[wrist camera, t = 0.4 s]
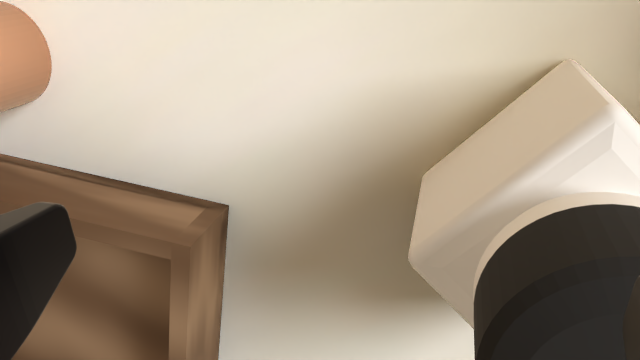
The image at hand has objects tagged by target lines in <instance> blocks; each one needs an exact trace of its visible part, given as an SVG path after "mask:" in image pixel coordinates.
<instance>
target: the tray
mask: <svg viewBox="0 0 640 360" xmlns="http://www.w3.org/2000/svg"><path fill="white" fill-rule="evenodd" d="M36 202H50V203H58V204H61V205H63V206H64V207H65V208H66V209H67V211H68V214H69V218H70V221H71V225H72V229H73V232H74V236H75V240H76V244H77V249H76V254H75V257H74V259H73V261H72V263H71V264H70V266H69V268H68V270H67V271H66V273H65V275H64V276H63V278H62V280H61V282H60V283H59V285H58V287H57V289H56V290H55V292H54V294H53V296H52V297H51V299H50V301H49V302H48V304H47V306H46V308H45V309H44V311H43V313H42V315H41V316H40V318H39V320H38V321H37V323H36V325H35V326H34V328H33V329H32V331H31V333H30V334H29V335H28V337H27V338H26V340H25V341H24V343H23V344H22V346H21V347H20V348H19V350H18V351H17V353H16V354H15V355H14V357H13V358H12V360H218V353H219V339H220V324H221V310H222V296H223V282H224V268H225V253H226V239H227V225H228V211H229V205H225V204H221V203H216V202H212V201H207V200H203V199H198V198H194V197H189V196H185V195H181V194H176V193H172V192H167V191H163V190H158V189H154V188H150V187H145V186H141V185H136V184H132V183H127V182H123V181H119V180H114V179H110V178H105V177H101V176H96V175H92V174H88V173H83V172H79V171H74V170H70V169H65V168H61V167H57V166H52V165H48V164H43V163H39V162H34V161H30V160H26V159H21V158H17V157H12V156H8V155H3V154H0V214H3V213H6V212H9V211H12V210H15V209H18V208H21V207H24V206H27V205H30V204H33V203H36Z"/></svg>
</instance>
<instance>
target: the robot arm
mask: <svg viewBox="0 0 640 360" xmlns="http://www.w3.org/2000/svg"><path fill="white" fill-rule="evenodd" d="M76 249H77V244H76V240H75V236H74V232H73V229H72V225H71V221H70V218H69V214H68V211H67V209H66V208H65V207H64V206H63V205H61V204H58V203H50V202H36V203H33V204H30V205H27V206H24V207H21V208H18V209H15V210H12V211H9V212H6V213H3V214H0V360H12V358H13V357H14V355H15V354H16V353H17V351H18V350H19V348H20V347H21V346H22V344H23V343H24V341H25V340H26V338H27V337H28V335H29V334H30V333H31V331H32V329H33V328H34V326H35V325H36V323H37V321H38V320H39V318H40V316H41V315H42V313H43V311H44V309H45V308H46V306H47V304H48V302H49V301H50V299H51V297H52V296H53V294H54V292H55V290H56V289H57V287H58V285H59V283H60V282H61V280H62V278H63V276H64V275H65V273H66V271H67V270H68V268H69V266H70V264H71V263H72V261H73V259H74V257H75V254H76ZM623 340H624V347H625V354H626V360H640V275H639V276H638V278H637V279H636V281H635V284H634V287H633V290H632V293H631V296H630V300H629V303H628V306H627V309H626V312H625V315H624V319H623Z"/></svg>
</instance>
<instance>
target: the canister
mask: <svg viewBox="0 0 640 360" xmlns="http://www.w3.org/2000/svg"><path fill="white" fill-rule="evenodd" d="M50 76H51V56H50V52H49V48H48V45H47V42H46V40H45V38H44V36H43V34H42V32H41V31H40V29H39V28H38V26H37V25H36V23H35V22H34V21H33V20H32V19H31V18H30V17H29V16H28V15H27V14H26V13H25V12H23V11H22V10H20V9H19V8H17V7H15V6H14V5H11V4H9V3H6V2H2V1H0V112H3V111H6V110H9V109H12V108H15V107H18V106H20V105H23V104H26V103H29V102H32V101H34V100H35V99H37V98H38V97H39V96H41V94H42V93H43V92H44V91H45V89H46V88H47V86H48V83H49V80H50Z"/></svg>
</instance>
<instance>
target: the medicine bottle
mask: <svg viewBox="0 0 640 360" xmlns="http://www.w3.org/2000/svg"><path fill="white" fill-rule="evenodd" d="M408 260H409V262H410V264H411V266H412V267H413V268H414V269H415V270H416V271H417V272H418V273H419V274H420V275H421V276H422V277H423V278H424V279H425V280H426V281H427V282H428V283H429V284H430V285H431V286H432V287H433V288H434V289H435V290H436V291H437V292H438V293H439V294H440V295H441V296H442V297H443V298H444V299H445V301H446V302H447V303H448V304H449V305H450V306H451V307H452V308H453V309H454V310H455V311H456V312H457V313H458V314H459V315H460V316H461V317H462V318H463V319H464V320H465V321H466V322H467V323H468V324H469V325H470V326H471V327H472V328H473V329H474V346H475V360H626V354H625V347H624V340H623V319H624V315H625V312H626V309H627V306H628V303H629V300H630V296H631V293H632V290H633V287H634V284H635V281H636V279H637V278H638V276H639V275H640V125H639V124H638V123H637V121H636V120H635V119H634V118H633V117H632V116H631V115H630V114H629V113H628V111H627V110H626V109H625V108H624V107H623V106H622V105H621V104H620V103H619V102H618V101H617V100H616V99H615V98H614V97H613V96H612V95H611V94H610V93H609V92H608V91H607V90H606V89H604V88H603V87H602V86H601V85H600V84H599V83H598V82H597V81H596V80H595V79H594V78H593V77H592V76H591V75H590V74H589V73H588V72H587V71H586V70H585V69H584V68H583V67H582V66H581V65H580V64H579V63H578V62H576V61H575V60H572V59H567V60H565V61H563V62H561V63H560V64H559V65H557V66H556V67H555V68H554V69H553V70H551V71H550V72H549V73H548V74H546V75H545V76H544V77H543V78H541V79H540V80H539V81H538V82H537V83H535V84H534V85H533V86H532V87H530V88H529V89H528V90H527V91H525V92H524V93H523V94H522V95H521V96H519V97H518V98H517V99H516V100H514V101H513V102H512V103H511V104H509V105H508V106H507V107H506V108H505V109H503V110H502V111H501V112H500V113H498V114H497V115H496V116H495V117H493V118H492V119H491V120H490V121H489V122H487V123H486V124H485V125H484V126H482V127H481V128H480V129H479V130H477V131H476V132H475V133H474V134H473V135H471V136H470V137H469V138H468V139H466V140H465V141H464V142H463V143H461V144H460V145H459V146H458V147H457V148H455V149H454V150H453V151H452V152H450V153H449V154H448V155H447V156H445V157H444V158H443V159H442V160H441V161H439V162H438V163H437V164H436V165H434V166H433V167H432V168H431V169H429V170H428V171H427V172H426V173H425V174H424V175H423V177H422V182H421V187H420V193H419V198H418V204H417V210H416V215H415V221H414V226H413V232H412V237H411V243H410V248H409V255H408Z"/></svg>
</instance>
